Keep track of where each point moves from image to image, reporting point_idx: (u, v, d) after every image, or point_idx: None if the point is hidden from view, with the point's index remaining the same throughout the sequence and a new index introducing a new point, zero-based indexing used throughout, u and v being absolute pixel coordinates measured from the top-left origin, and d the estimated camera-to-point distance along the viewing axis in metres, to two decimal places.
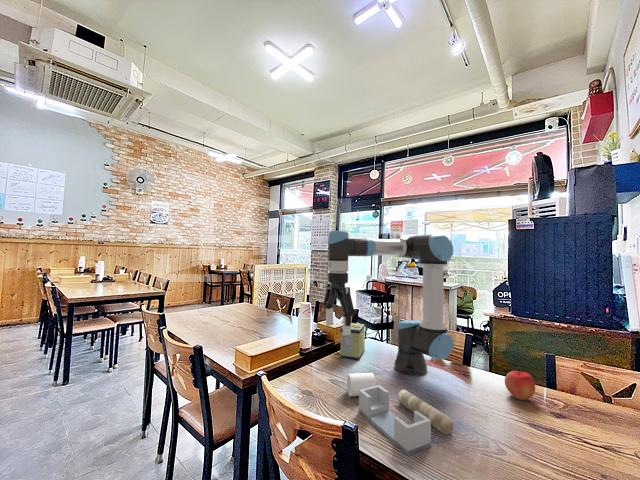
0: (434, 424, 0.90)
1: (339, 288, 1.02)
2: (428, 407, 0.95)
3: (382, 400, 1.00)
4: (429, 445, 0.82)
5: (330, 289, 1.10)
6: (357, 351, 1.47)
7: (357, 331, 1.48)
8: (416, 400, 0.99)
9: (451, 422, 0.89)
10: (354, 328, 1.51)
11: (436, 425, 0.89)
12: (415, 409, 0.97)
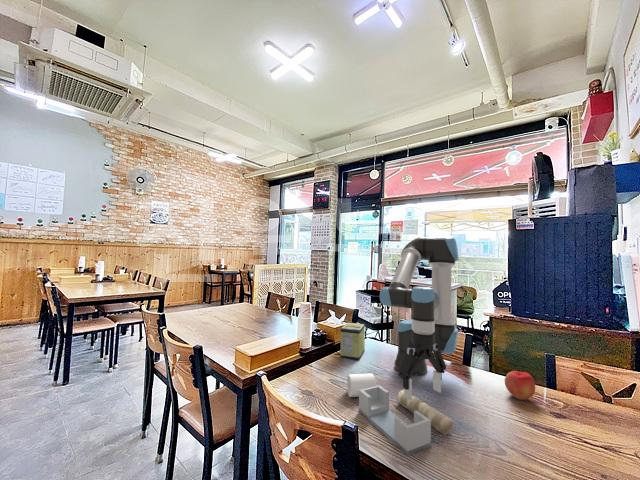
0: (433, 426, 0.90)
1: None
2: (426, 408, 0.94)
3: (382, 400, 1.00)
4: (429, 445, 0.82)
5: (433, 350, 1.01)
6: (357, 351, 1.47)
7: (357, 331, 1.48)
8: (414, 401, 0.99)
9: (450, 422, 0.89)
10: (354, 328, 1.51)
11: (435, 427, 0.89)
12: (414, 410, 0.97)
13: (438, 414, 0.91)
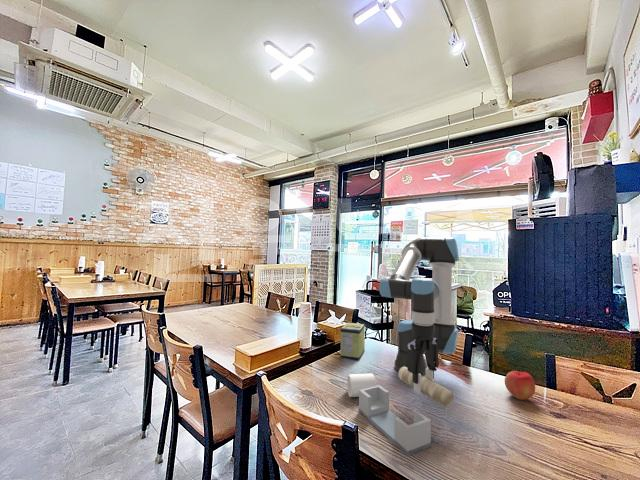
0: (435, 400, 0.91)
1: None
2: (426, 383, 0.95)
3: (382, 400, 1.00)
4: (429, 445, 0.82)
5: (431, 343, 1.01)
6: (357, 351, 1.47)
7: (357, 331, 1.48)
8: None
9: (450, 393, 0.90)
10: (354, 328, 1.51)
11: (437, 401, 0.90)
12: None
13: (438, 388, 0.91)
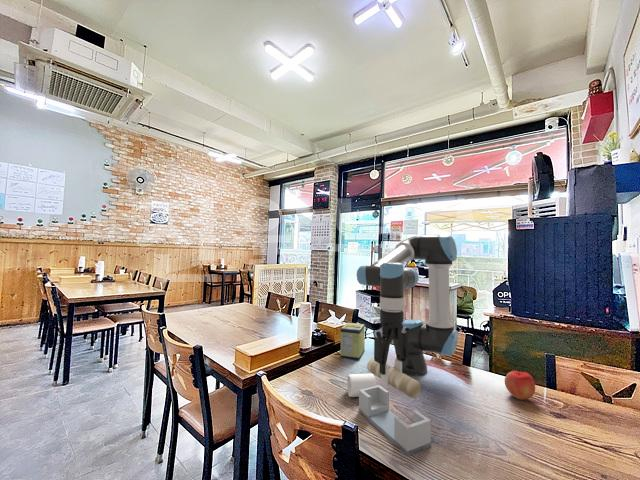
0: (402, 391, 0.85)
1: None
2: (393, 374, 0.89)
3: (382, 400, 1.00)
4: (429, 445, 0.82)
5: (401, 332, 0.95)
6: (357, 351, 1.47)
7: (357, 331, 1.48)
8: None
9: (417, 384, 0.83)
10: (354, 328, 1.51)
11: (403, 392, 0.84)
12: None
13: (404, 378, 0.85)
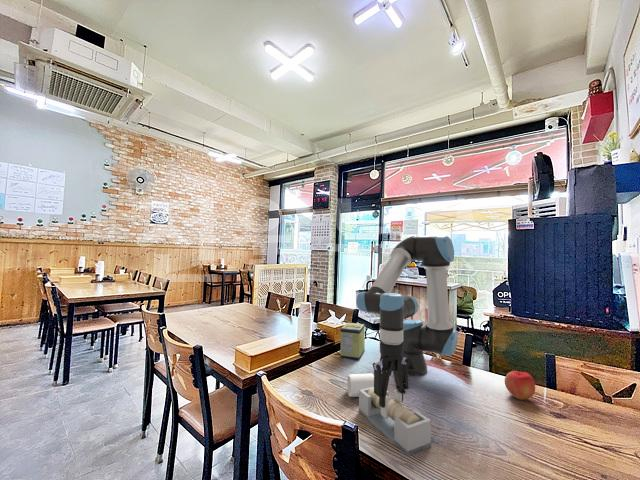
0: None
1: None
2: (393, 407, 0.88)
3: None
4: (429, 445, 0.82)
5: (401, 363, 0.94)
6: (357, 351, 1.47)
7: (357, 331, 1.48)
8: None
9: (417, 419, 0.83)
10: (354, 328, 1.51)
11: None
12: None
13: (404, 413, 0.84)
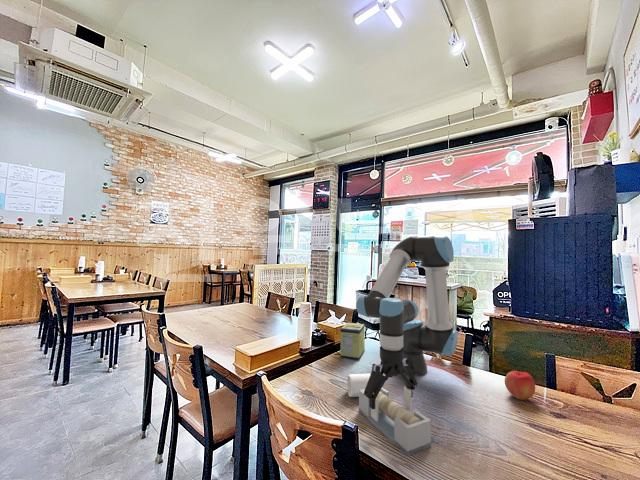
0: None
1: None
2: (395, 408, 0.88)
3: None
4: (429, 445, 0.82)
5: (403, 365, 0.95)
6: (357, 351, 1.47)
7: (357, 331, 1.48)
8: (384, 401, 0.93)
9: None
10: (354, 328, 1.51)
11: None
12: (384, 411, 0.91)
13: (406, 414, 0.85)
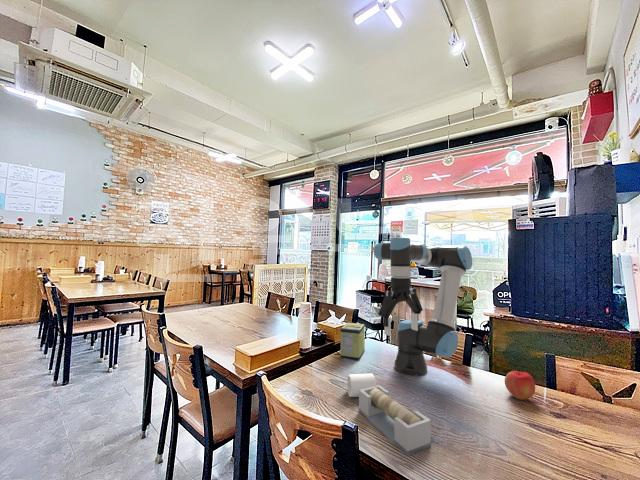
0: None
1: None
2: (397, 407, 0.89)
3: None
4: (429, 445, 0.82)
5: (410, 294, 1.12)
6: (357, 351, 1.47)
7: (357, 331, 1.48)
8: (386, 400, 0.93)
9: None
10: (354, 328, 1.51)
11: None
12: (385, 409, 0.92)
13: (408, 413, 0.85)
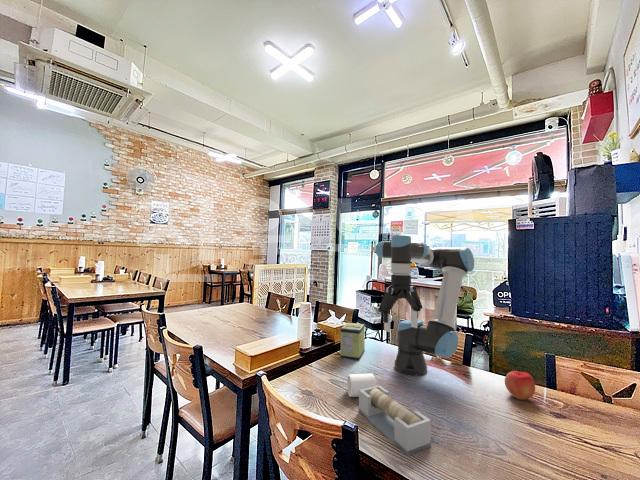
0: None
1: None
2: (397, 407, 0.89)
3: None
4: (429, 445, 0.82)
5: (410, 291, 1.13)
6: (357, 351, 1.47)
7: (357, 331, 1.48)
8: (386, 400, 0.93)
9: None
10: (354, 328, 1.51)
11: None
12: (385, 409, 0.91)
13: (408, 413, 0.85)
